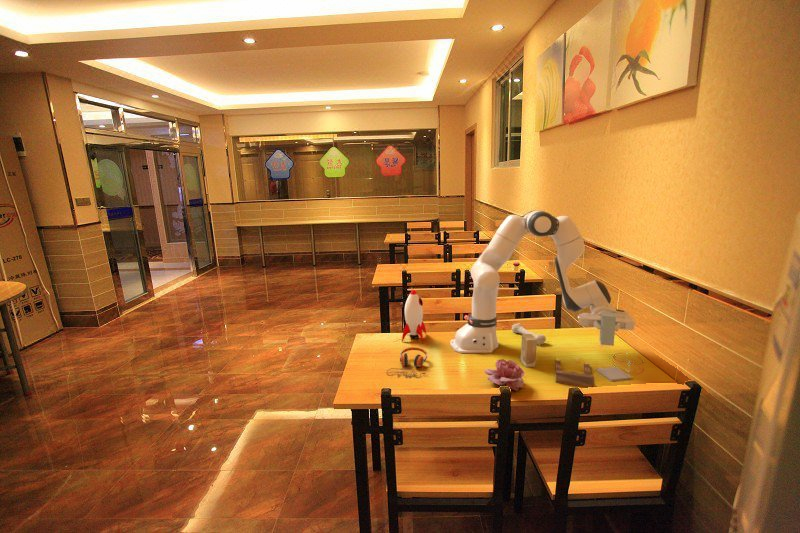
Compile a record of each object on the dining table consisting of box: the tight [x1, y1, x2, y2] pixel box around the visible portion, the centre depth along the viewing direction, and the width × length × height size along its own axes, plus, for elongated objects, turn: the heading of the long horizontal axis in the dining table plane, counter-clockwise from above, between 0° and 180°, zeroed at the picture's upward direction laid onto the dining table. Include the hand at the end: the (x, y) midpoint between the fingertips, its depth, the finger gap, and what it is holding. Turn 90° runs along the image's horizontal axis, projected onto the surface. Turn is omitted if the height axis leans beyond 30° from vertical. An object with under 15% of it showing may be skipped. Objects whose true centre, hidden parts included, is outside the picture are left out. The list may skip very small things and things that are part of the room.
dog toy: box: [511, 323, 547, 346], centre depth 197 cm, size 20×6×5 cm, turn 23°
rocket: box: [401, 289, 427, 343], centre depth 198 cm, size 11×11×25 cm
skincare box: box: [520, 334, 538, 368], centre depth 169 cm, size 6×4×12 cm
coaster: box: [595, 366, 633, 382], centre depth 159 cm, size 9×9×1 cm
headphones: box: [386, 346, 428, 379], centre depth 169 cm, size 17×5×20 cm
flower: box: [484, 358, 526, 392], centre depth 152 cm, size 15×15×10 cm
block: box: [599, 312, 616, 347], centre depth 159 cm, size 4×4×12 cm
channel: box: [554, 359, 595, 388], centre depth 160 cm, size 18×13×4 cm
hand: (608, 328), depth 158 cm, fingers closed on block, 4 cm apart
